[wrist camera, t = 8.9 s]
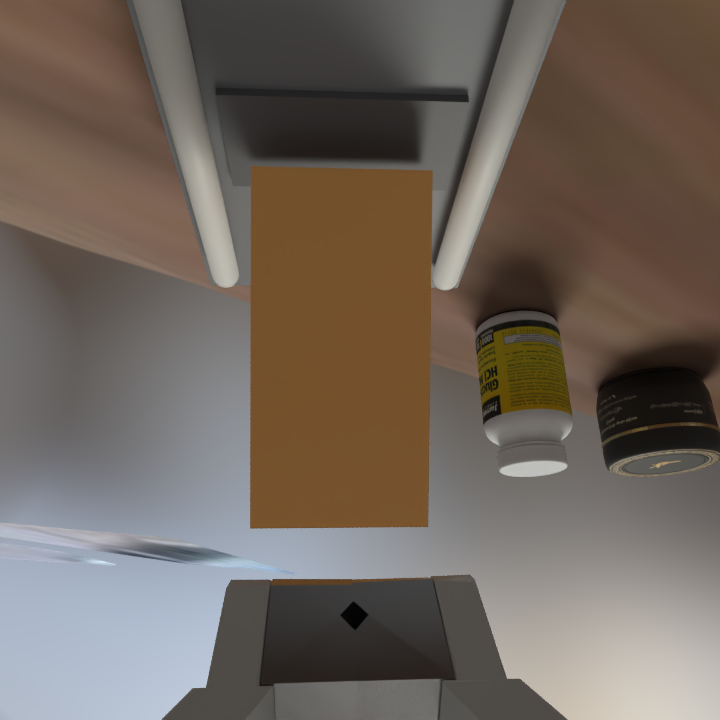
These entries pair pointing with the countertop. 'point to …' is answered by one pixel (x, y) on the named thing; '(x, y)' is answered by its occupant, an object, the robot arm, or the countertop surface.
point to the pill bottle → (524, 392)
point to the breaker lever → (340, 347)
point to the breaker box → (341, 102)
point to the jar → (657, 423)
